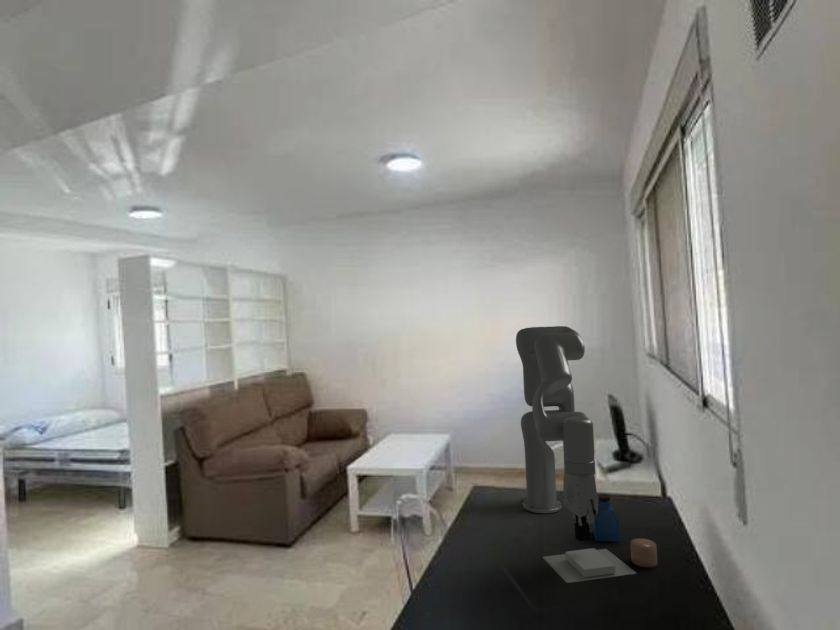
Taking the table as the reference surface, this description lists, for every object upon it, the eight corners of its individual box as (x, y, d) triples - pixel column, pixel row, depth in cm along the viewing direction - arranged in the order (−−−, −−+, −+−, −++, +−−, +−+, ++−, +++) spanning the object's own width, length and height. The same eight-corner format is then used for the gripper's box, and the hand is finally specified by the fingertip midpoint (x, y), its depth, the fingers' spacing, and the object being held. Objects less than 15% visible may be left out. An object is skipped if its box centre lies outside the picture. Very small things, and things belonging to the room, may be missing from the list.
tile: (565, 551, 134) (584, 569, 124) (594, 548, 135) (615, 565, 125) (565, 559, 134) (584, 578, 124) (594, 555, 135) (615, 574, 125)
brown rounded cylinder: (628, 558, 134) (627, 538, 134) (652, 557, 134) (651, 538, 134) (636, 570, 128) (635, 549, 128) (661, 569, 128) (660, 549, 128)
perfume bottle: (619, 544, 143) (617, 500, 143) (596, 543, 144) (594, 499, 144) (615, 534, 149) (614, 492, 149) (593, 533, 150) (591, 492, 150)
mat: (542, 559, 136) (542, 556, 136) (606, 550, 139) (606, 548, 139) (566, 585, 122) (566, 583, 122) (637, 575, 125) (637, 573, 125)
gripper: (553, 460, 140) (556, 529, 139) (579, 476, 125) (583, 553, 125) (579, 458, 141) (582, 526, 141) (608, 473, 126) (612, 550, 126)
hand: (582, 539), depth 133 cm, fingers closed
